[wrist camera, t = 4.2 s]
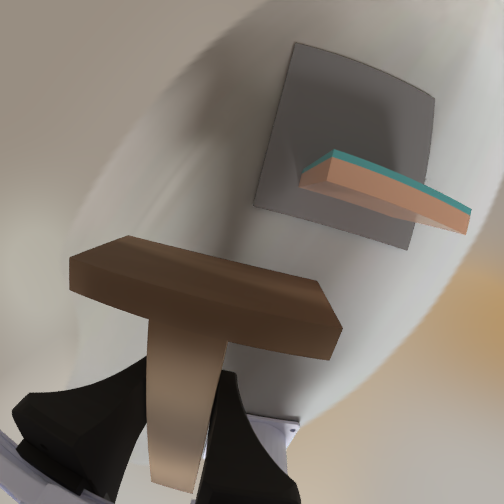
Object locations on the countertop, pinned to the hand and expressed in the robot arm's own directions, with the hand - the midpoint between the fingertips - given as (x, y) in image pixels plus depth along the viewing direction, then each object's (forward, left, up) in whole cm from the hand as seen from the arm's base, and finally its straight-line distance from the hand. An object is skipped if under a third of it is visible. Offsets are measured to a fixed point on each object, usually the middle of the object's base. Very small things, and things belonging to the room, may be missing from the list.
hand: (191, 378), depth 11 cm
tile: (+10, -7, -8) cm, 14 cm away
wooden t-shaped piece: (-2, 0, -2) cm, 3 cm away
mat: (+14, -6, -8) cm, 17 cm away
